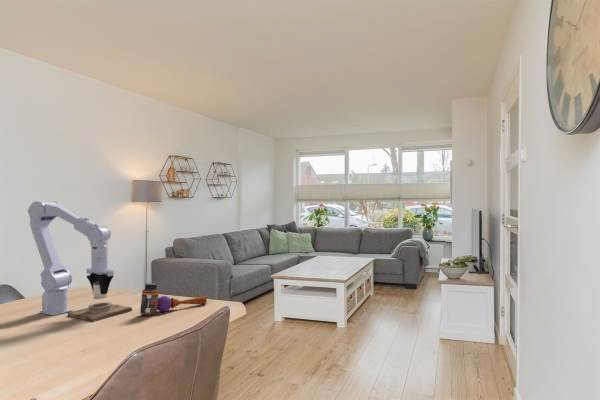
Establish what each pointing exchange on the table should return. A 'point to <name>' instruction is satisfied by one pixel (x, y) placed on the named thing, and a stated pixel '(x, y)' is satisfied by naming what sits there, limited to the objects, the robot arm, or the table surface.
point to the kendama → (177, 302)
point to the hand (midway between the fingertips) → (100, 293)
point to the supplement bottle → (149, 299)
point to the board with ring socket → (99, 311)
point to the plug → (98, 291)
